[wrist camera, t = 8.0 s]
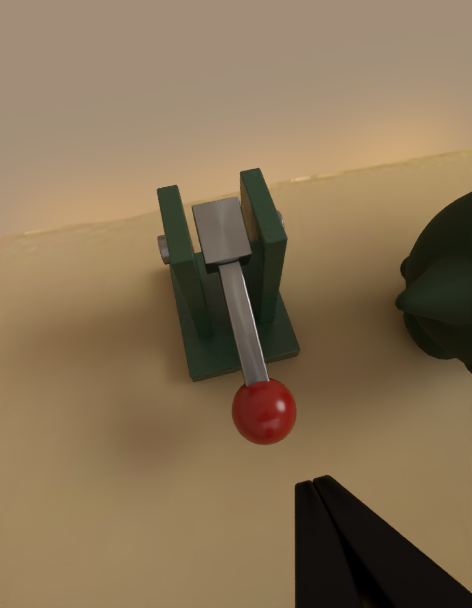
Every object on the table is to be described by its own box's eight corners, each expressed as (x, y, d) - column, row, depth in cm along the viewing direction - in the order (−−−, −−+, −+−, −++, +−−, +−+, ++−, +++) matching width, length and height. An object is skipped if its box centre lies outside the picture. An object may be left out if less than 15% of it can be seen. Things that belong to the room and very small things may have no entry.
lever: (295, 425, 17) (311, 444, 14) (238, 440, 17) (242, 463, 14) (242, 215, 18) (247, 190, 15) (188, 227, 18) (182, 204, 15)
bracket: (297, 356, 22) (331, 278, 13) (193, 382, 21) (152, 320, 12) (260, 247, 26) (266, 132, 17) (171, 267, 25) (130, 159, 16)
